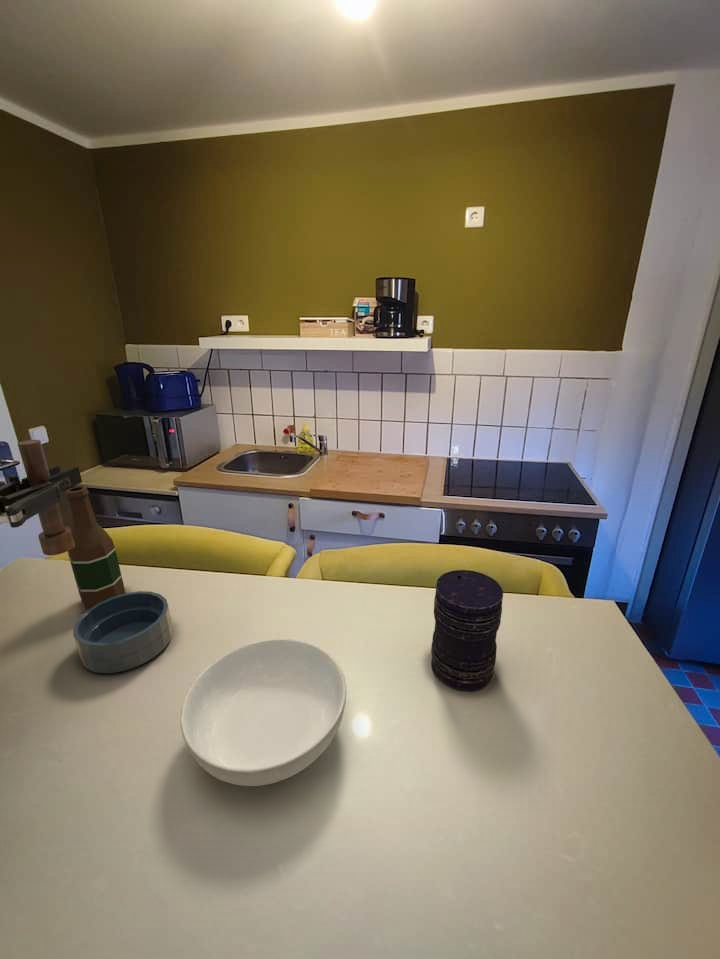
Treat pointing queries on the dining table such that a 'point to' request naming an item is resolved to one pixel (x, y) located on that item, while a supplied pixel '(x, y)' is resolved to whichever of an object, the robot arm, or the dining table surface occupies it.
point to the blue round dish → (123, 631)
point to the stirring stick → (54, 531)
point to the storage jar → (465, 629)
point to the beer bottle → (92, 553)
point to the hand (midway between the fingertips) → (68, 474)
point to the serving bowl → (263, 711)
